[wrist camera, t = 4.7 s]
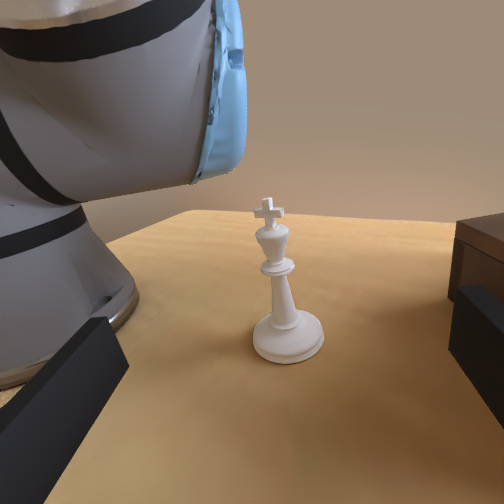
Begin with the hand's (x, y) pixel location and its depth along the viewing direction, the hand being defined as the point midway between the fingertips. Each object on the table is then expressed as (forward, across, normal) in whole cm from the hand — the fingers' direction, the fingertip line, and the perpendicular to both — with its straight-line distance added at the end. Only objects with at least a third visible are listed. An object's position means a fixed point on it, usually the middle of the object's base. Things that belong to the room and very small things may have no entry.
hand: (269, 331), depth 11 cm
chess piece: (+7, 0, -7) cm, 10 cm away
